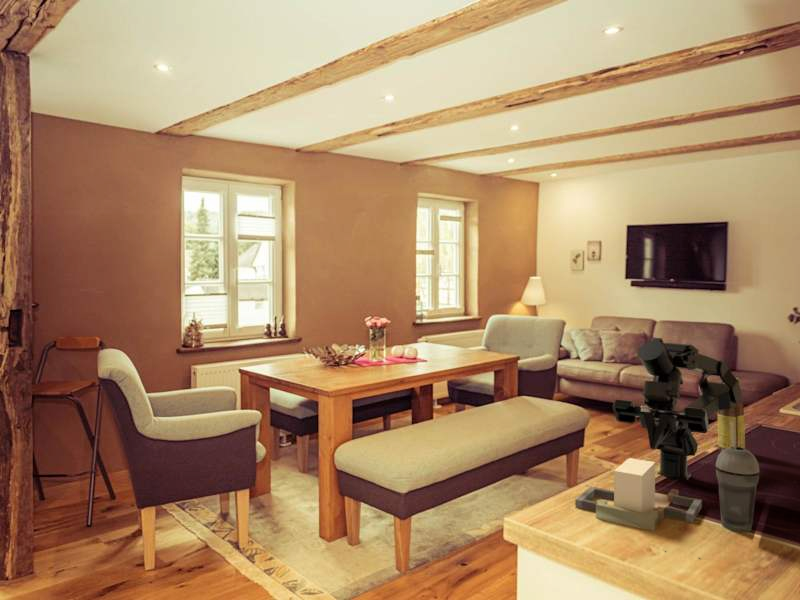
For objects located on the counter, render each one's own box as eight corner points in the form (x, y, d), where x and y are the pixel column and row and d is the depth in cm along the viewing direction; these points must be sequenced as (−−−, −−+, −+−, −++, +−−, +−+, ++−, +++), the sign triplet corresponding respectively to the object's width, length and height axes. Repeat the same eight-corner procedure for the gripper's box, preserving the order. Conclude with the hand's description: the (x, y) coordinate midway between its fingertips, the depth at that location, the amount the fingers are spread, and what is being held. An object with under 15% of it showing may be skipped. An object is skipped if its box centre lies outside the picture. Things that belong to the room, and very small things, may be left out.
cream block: (628, 501, 123) (629, 457, 123) (654, 507, 120) (655, 462, 120) (613, 517, 115) (614, 470, 114) (641, 523, 112) (642, 475, 112)
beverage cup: (735, 542, 106) (737, 429, 105) (704, 526, 113) (706, 420, 112) (769, 538, 108) (771, 426, 107) (736, 522, 115) (738, 417, 114)
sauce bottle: (738, 449, 163) (739, 376, 163) (749, 456, 157) (750, 380, 156) (712, 449, 164) (714, 376, 163) (722, 455, 158) (724, 379, 157)
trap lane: (603, 487, 134) (603, 471, 134) (704, 507, 123) (705, 489, 122) (569, 516, 118) (570, 499, 118) (683, 543, 106) (684, 523, 106)
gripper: (615, 363, 137) (599, 420, 128) (707, 370, 126) (696, 433, 117) (624, 392, 144) (610, 449, 135) (712, 401, 133) (702, 464, 124)
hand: (652, 448), depth 128 cm, fingers closed
